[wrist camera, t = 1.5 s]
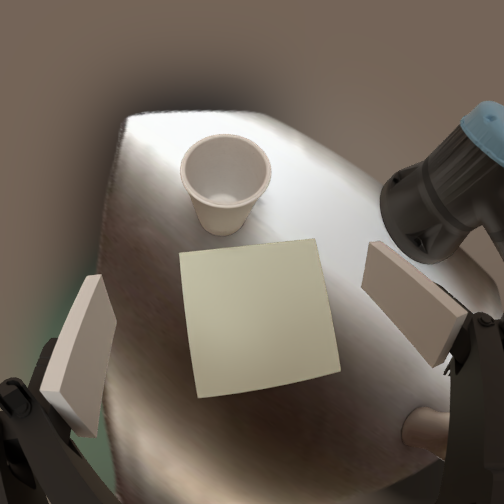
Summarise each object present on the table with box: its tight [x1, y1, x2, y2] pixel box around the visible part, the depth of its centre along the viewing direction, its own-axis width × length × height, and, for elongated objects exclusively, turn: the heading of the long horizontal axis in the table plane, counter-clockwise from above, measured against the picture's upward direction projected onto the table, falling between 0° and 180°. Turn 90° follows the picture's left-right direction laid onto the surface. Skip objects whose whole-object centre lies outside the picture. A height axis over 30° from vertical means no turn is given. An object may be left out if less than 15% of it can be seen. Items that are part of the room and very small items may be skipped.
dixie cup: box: [180, 134, 271, 236], centre depth 30 cm, size 8×8×10 cm
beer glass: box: [402, 407, 450, 461], centre depth 22 cm, size 7×7×15 cm
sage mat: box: [179, 238, 341, 398], centre depth 31 cm, size 16×16×1 cm
